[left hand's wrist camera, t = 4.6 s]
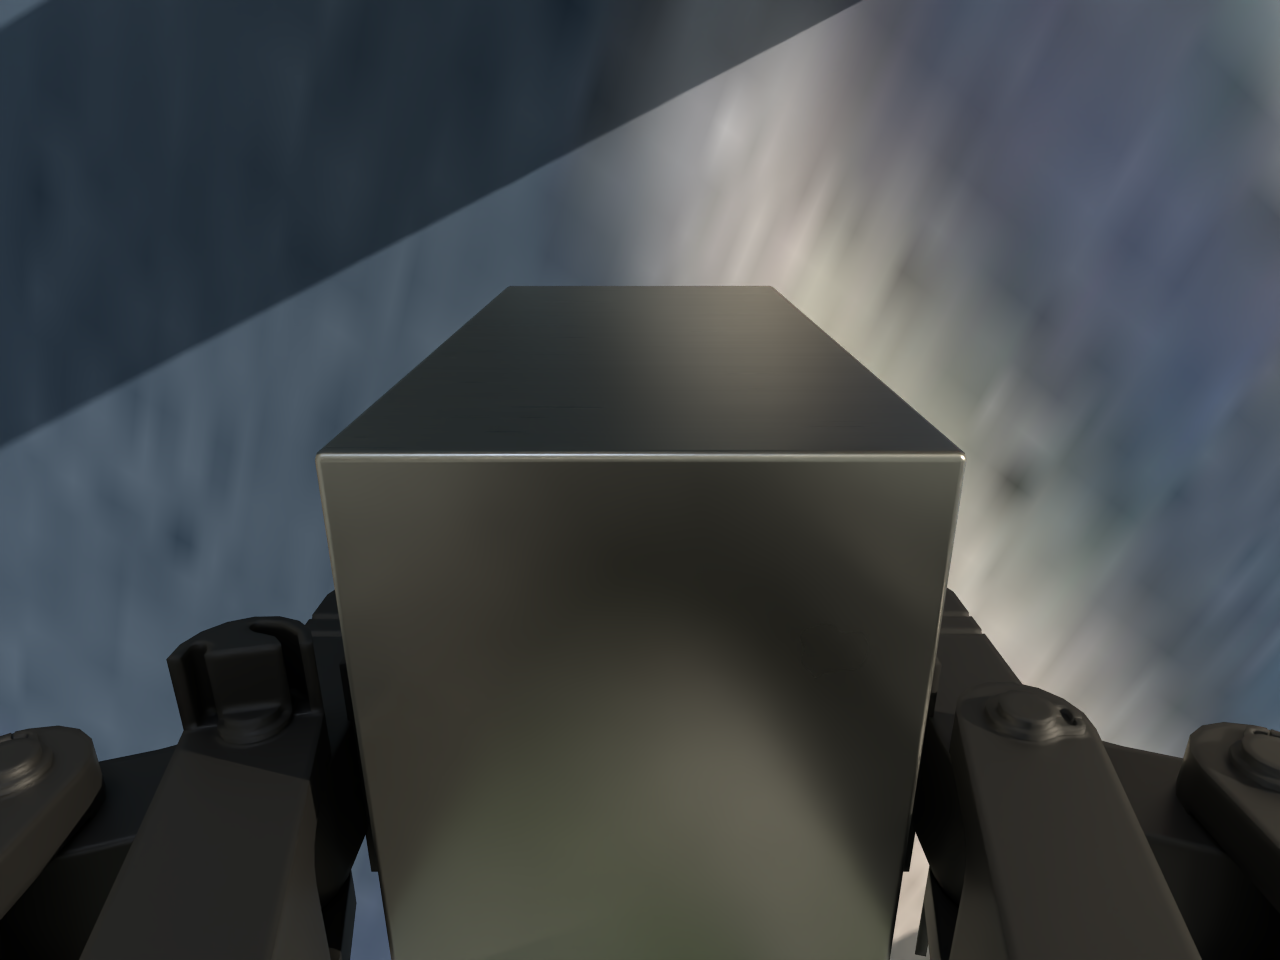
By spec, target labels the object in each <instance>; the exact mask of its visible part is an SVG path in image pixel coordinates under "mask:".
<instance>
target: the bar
mask: <svg viewBox="0 0 1280 960" xmlns="http://www.w3.org/2000/svg"><path fill="white" fill-rule="evenodd" d="M315 462H316V469H317V476H318V482H319V489H320V495H321V502H322V508H323V515H324V521H325V528H326V534H327V541H328V548H329V554H330V561H331V567H332V574H333V580H334V587H335V593H336V600H337V606H338V613H339V620H340V626H341V633H342V639H343V646H344V652H345V659H346V665H347V672H348V679H349V685H350V692H351V698H352V705H353V711H354V718H355V724H356V731H357V737H358V744H359V751H360V757H361V764H362V770H363V777H364V783H365V790H366V796H367V803H368V809H369V816H370V823H371V829H372V836H373V842H374V849H375V855H376V862H377V868H378V875H379V881H380V888H381V895H382V901H383V908H384V914H385V921H386V927H387V934H388V940H389V947H390V953H391V960H890V954H891V947H892V941H893V934H894V928H895V921H896V915H897V908H898V902H899V895H900V889H901V882H902V875H903V869H904V862H905V856H906V849H907V843H908V836H909V830H910V823H911V817H912V810H913V804H914V797H915V791H916V784H917V778H918V771H919V765H920V758H921V752H922V745H923V739H924V732H925V726H926V719H927V713H928V706H929V700H930V693H931V687H932V680H933V673H934V667H935V660H936V654H937V647H938V641H939V634H940V628H941V621H942V615H943V608H944V602H945V595H946V589H947V582H948V576H949V569H950V563H951V556H952V550H953V543H954V537H955V530H956V524H957V517H958V511H959V504H960V498H961V491H962V484H963V478H964V471H965V465H966V457H965V453H964V452H963V451H962V450H961V449H959V448H958V447H957V446H956V445H955V444H954V443H952V442H951V441H950V440H949V439H948V438H947V437H946V436H944V435H943V434H942V433H941V432H940V431H939V430H937V429H936V428H935V427H934V426H933V425H932V424H931V423H929V422H928V421H927V420H926V419H925V418H924V417H922V416H921V415H920V414H919V413H918V412H917V411H915V410H914V409H913V408H912V407H911V406H910V405H909V404H907V403H906V402H905V401H904V400H903V399H902V398H900V397H899V396H898V395H897V394H896V393H895V392H894V391H892V390H891V389H890V388H889V387H888V386H887V385H885V384H884V383H883V382H882V381H881V380H880V379H878V378H877V377H876V376H875V375H874V374H873V373H872V372H870V371H869V370H868V369H867V368H866V367H865V366H863V365H862V364H861V363H860V362H859V361H858V360H856V359H855V358H854V357H853V356H852V355H851V354H850V353H848V352H847V351H846V350H845V349H844V348H843V347H841V346H840V345H839V344H838V343H837V342H836V341H835V340H833V339H832V338H831V337H830V336H829V335H828V334H826V333H825V332H824V331H823V330H822V329H821V328H819V327H818V326H817V325H816V324H815V323H814V322H813V321H811V320H810V319H809V318H808V317H807V316H806V315H804V314H803V313H802V312H801V311H800V310H799V309H798V308H796V307H795V306H794V305H793V304H792V303H791V302H789V301H788V300H787V299H786V298H785V297H784V296H782V295H781V294H780V293H779V292H778V291H777V290H776V289H774V288H773V287H771V286H509V287H507V288H506V289H505V290H504V291H503V292H501V293H500V294H499V295H498V296H497V297H496V298H494V299H493V300H492V301H491V302H490V303H489V304H488V305H486V306H485V307H484V308H483V309H482V310H481V311H480V312H478V313H477V314H476V315H475V316H474V317H473V318H471V319H470V320H469V321H468V322H467V323H466V324H465V325H463V326H462V327H461V328H460V329H459V330H458V331H457V332H455V333H454V334H453V335H452V336H451V337H450V338H448V339H447V340H446V341H445V342H444V343H443V344H442V345H440V346H439V347H438V348H437V349H436V350H435V351H434V352H432V353H431V354H430V355H429V356H428V357H427V358H425V359H424V360H423V361H422V362H421V363H420V364H419V365H417V366H416V367H415V368H414V369H413V370H412V371H411V372H409V373H408V374H407V375H406V376H405V377H404V378H402V379H401V380H400V381H399V382H398V383H397V384H396V385H394V386H393V387H392V388H391V389H390V390H389V391H388V392H386V393H385V394H384V395H383V396H382V397H381V398H379V399H378V400H377V401H376V402H375V403H374V404H373V405H371V406H370V407H369V408H368V409H367V410H366V411H365V412H363V413H362V414H361V415H360V416H359V417H358V418H356V419H355V420H354V421H353V422H352V423H351V424H350V425H348V426H347V427H346V428H345V429H344V430H343V431H342V432H340V433H339V434H338V435H337V436H336V437H335V438H333V439H332V440H331V441H330V442H329V443H328V444H327V445H325V446H324V447H323V448H322V449H321V450H320V451H319V452H317V455H316V458H315Z"/></svg>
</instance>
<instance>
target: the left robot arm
mask: <svg viewBox="0 0 1280 960" xmlns="http://www.w3.org/2000/svg"><path fill="white" fill-rule="evenodd" d="M166 660H167V664H168V668H169V672H170V676H171V680H172V684H173V688H174V692H175V696H176V700H177V704H178V709H179V713H180V717H181V721H182V725H183V729H184V731H183V733H182V735H181V738H180V740H179V742H178V744H177V745H174V746H170V747H167V748H163V749H159V750H154V751H149V752H145V753H140V754H135V755H130V756H125V757H120V758H115V759H110V760H105V761H100V762H98V758H97V755H96V752H95V748H94V745H93V742H92V739H91V738H90V737H89V736H88V735H86V734H85V733H84V732H83V731H81V730H80V729H76V728H70V727H63V726H50V727H41V728H31V729H25V730H21V731H16V732H15V733H13V734H11V733H9V734H6V735H3V736H0V960H350V955H351V946H352V937H353V928H354V919H355V911H356V897H355V890H354V884H353V878H352V872H351V868H352V866H353V864H354V861H355V859H356V856H357V854H358V851H359V849H360V847H361V844H362V842H363V839H364V837H365V835H366V840H367V846H368V853H369V859H370V866H371V872H378V868H377V862H376V855H375V849H374V842H373V836H372V829H371V823H370V816H369V809H368V803H367V796H366V790H365V783H364V777H363V770H362V764H361V757H360V751H359V744H358V737H357V731H356V724H355V718H354V711H353V705H352V698H351V692H350V685H349V679H348V672H347V665H346V659H345V652H344V646H343V639H342V633H341V626H340V620H339V613H338V606H337V600H336V593H335V590H334V591H332V592H331V593H329V594H328V595H327V596H326V597H325V599H324V600H323V601H322V603H321V604H320V605H319V607H318V608H317V609H316V611H315V612H314V614H313V615H312V619H309V620H308V622H307V623H306V624H305V625H304V624H303V623H301V622H300V621H298V620H293V619H289V618H285V617H280V616H272V617H251V618H246V619H241V620H236V621H231V622H226V623H224V624H221V625H218V626H216V627H213V628H210V629H207V630H205V631H202V632H200V633H199V634H197V635H195V636H194V637H192V638H190V639H189V640H187V641H185V642H184V643H182V644H180V645H179V646H178V647H177V648H176V650H175V651H174V652H173V653H172V654H171V655H170V656H169V657H168V658H167V659H166ZM915 832H916V834H917V836H918V839H919V841H920V844H921V846H922V848H923V851H924V853H925V856H926V858H927V860H928V863H929V865H930V866H929V872H928V878H927V884H926V890H925V896H924V902H923V907H922V913H921V919H920V925H919V931H918V937H917V944H916V951H915V954H916V955H921V956H926V952H927V947H928V944H929V953H930V960H1280V732H1278V731H1275V730H1272V729H1271V730H1268V729H1267V728H1264V727H1259V726H1255V725H1246V724H1237V723H1227V722H1222V723H1215V724H1209V725H1202V726H1201V727H1200V728H1198V729H1197V730H1196V731H1195V732H1193V733H1192V734H1191V735H1190V737H1189V741H1188V744H1187V747H1186V751H1185V754H1184V757H1183V758H1178V757H1173V756H1168V755H1163V754H1158V753H1153V752H1148V751H1144V750H1139V749H1134V748H1129V747H1124V746H1120V745H1116V744H1112V743H1108V742H1105V741H1101V738H1100V736H1099V734H1098V732H1097V730H1096V728H1095V727H1094V726H1093V724H1092V723H1091V722H1090V720H1089V719H1088V718H1087V717H1086V715H1085V714H1084V713H1083V712H1082V711H1080V710H1079V709H1077V708H1076V707H1074V706H1073V705H1072V704H1070V703H1069V702H1067V701H1066V700H1064V699H1063V698H1060V697H1058V696H1056V695H1053V694H1051V693H1049V692H1046V691H1044V690H1042V689H1039V688H1036V687H1031V686H1027V685H1022V683H1021V682H1020V681H1019V679H1018V678H1017V677H1016V675H1015V674H1014V672H1013V671H1012V670H1011V668H1010V667H1009V666H1008V664H1007V663H1006V662H1005V660H1004V659H1003V658H1002V656H1001V655H1000V654H999V652H998V651H997V650H996V648H995V647H994V646H993V644H992V643H991V642H990V640H989V639H988V638H987V636H986V635H985V634H982V633H981V628H980V627H979V626H978V624H977V623H976V621H975V620H974V619H973V617H972V616H969V612H968V611H967V609H966V608H965V607H964V605H963V604H962V603H961V601H960V600H959V599H958V597H957V596H956V595H955V593H954V592H953V591H951V590H950V589H948V588H947V589H946V595H945V602H944V608H943V615H942V621H941V628H940V634H939V641H938V647H937V654H936V660H935V667H934V673H933V680H932V687H931V693H930V700H929V706H928V713H927V719H926V726H925V732H924V739H923V745H922V752H921V758H920V765H919V771H918V778H917V784H916V791H915V797H914V804H913V810H912V817H911V823H910V830H909V836H908V843H907V849H906V856H905V862H904V869H903V872H909V869H910V863H911V856H912V850H913V843H914V837H915Z"/></svg>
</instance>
